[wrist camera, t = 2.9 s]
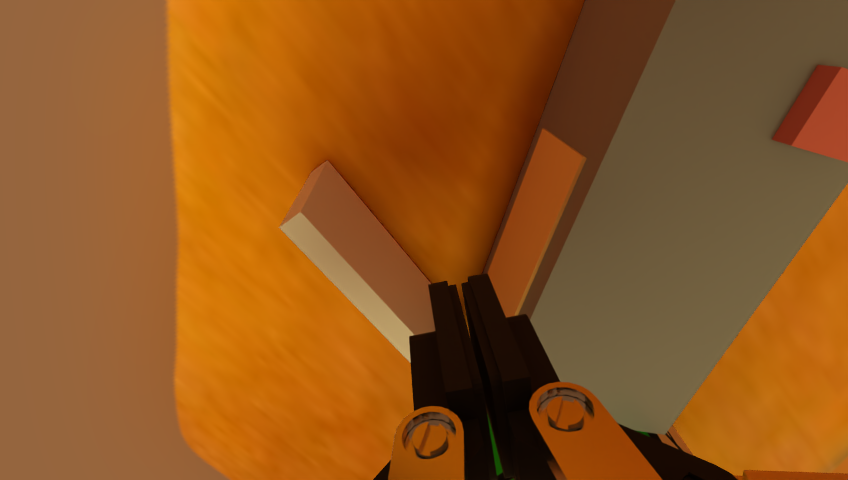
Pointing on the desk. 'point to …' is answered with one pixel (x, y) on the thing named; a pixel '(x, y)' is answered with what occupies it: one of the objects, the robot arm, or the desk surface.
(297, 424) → the desk surface
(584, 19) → the camera box
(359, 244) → the side door
